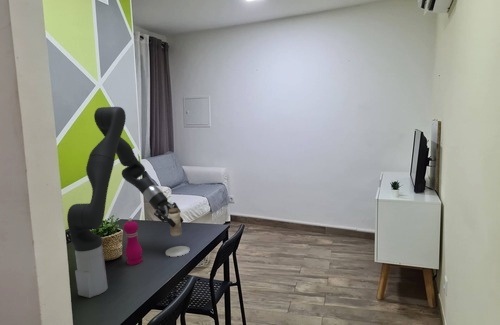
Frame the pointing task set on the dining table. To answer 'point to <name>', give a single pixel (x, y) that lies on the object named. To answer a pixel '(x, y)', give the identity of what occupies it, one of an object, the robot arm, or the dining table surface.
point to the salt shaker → (175, 216)
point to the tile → (177, 251)
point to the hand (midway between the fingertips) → (178, 223)
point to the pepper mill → (132, 243)
